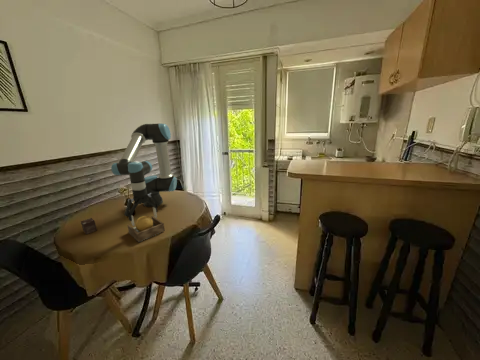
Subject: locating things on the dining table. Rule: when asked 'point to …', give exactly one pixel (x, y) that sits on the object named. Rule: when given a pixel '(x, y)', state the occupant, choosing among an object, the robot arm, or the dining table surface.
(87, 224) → the box
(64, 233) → the dining table surface
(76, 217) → the dining table surface
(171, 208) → the dining table surface
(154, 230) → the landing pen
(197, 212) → the dining table surface
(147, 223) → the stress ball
